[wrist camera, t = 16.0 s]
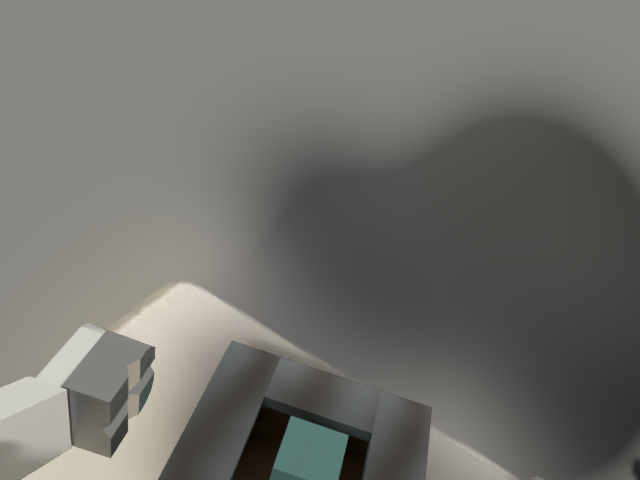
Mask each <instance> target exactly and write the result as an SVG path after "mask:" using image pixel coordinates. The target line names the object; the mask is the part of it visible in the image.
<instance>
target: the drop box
mask: <svg viewBox="0 0 640 480" xmlns="http://www.w3.org/2000/svg"><path fill="white" fill-rule="evenodd" d="M431 410H432V408H431V407H428V406H426V405H423V404H420V403H417V402H414V401H411V400H407V399H405V398H402V397H399V396H396V395H393V394H390V393H387V392H384V391H381V390H378V389H375V388H372V387H369V386H366V385H363V384H360V383H357V382H354V381H351V380H348V379H345V378H342V377H339V376H336V375H333V374H330V373H327V372H324V371H321V370H318V369H315V368H312V367H309V366H306V365H303V364H300V363H297V362H295V361H292V360H289V359H286V358H283V357H280V356H277V355H274V354H271V353H268V352H265V351H262V350H259V349H256V348H253V347H250V346H247V345H244V344H241V343H238V342H235V341H231V343H230V345H229V347H228V349H227V351H226V352H225V354H224V356H223V358H222V360H221V362H220V364H219V366H218V367H217V369H216V371H215V373H214V375H213V377H212V379H211V381H210V383H209V384H208V386H207V388H206V390H205V392H204V394H203V396H202V398H201V400H200V401H199V403H198V405H197V407H196V409H195V411H194V413H193V415H192V417H191V418H190V420H189V422H188V424H187V426H186V428H185V430H184V432H183V433H182V435H181V437H180V439H179V441H178V443H177V445H176V447H175V449H174V450H173V452H172V454H171V456H170V458H169V460H168V462H167V464H166V466H165V467H164V469H163V471H162V473H161V475H160V477H159V479H158V480H270V476H271V473H272V469H273V466H274V463H275V460H276V457H277V454H278V452H279V449H280V446H281V443H282V440H283V437H284V434H285V432H286V429H287V426H288V423H289V420H290V417H291V416H294V417H297V418H300V419H302V420H305V421H308V422H311V423H314V424H317V425H320V426H323V427H326V428H329V429H332V430H335V431H338V432H340V433H343V434H346V435H349V437H348V441H347V445H346V449H345V454H344V458H343V462H342V466H341V471H340V475H339V479H338V480H425V475H426V464H427V454H428V443H429V432H430V422H431Z"/></svg>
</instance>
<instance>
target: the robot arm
mask: <svg viewBox="0 0 640 480" xmlns="http://www.w3.org/2000/svg"><path fill="white" fill-rule="evenodd" d="M154 359H155V347H153V346H150V345H147V344H145V343H142V342H139V341H136V340H134V339H131V338H128V337H126V336H123V335H120V334H118V333H115V332H112V331H109V330H107V329H104V328H101V327H98V326H95V325H92V324H89V323H87V324H85V325H83V326H82V327H80V328H79V329H78V330H77V331H76V332H75V334H74V335H73V336H72V337H71V338H70V339H69V340H68V342H67V343H66V344H65V345H64V346H63V347H62V348H61V350H60V351H59V352H58V353H57V354H56V355H55V356H54V358H53V359H52V360H51V361H50V362H49V363H48V364H47V365H46V366H45V368H44V369H43V370H42V371H41V372H40V373H39V374H38V376H37V377H36V378H33V377H30V376H27V377H25V378H23V379H21V380H18V381H15V382H13V383H10V384H8V385H6V386H3V387H1V388H0V480H21V479H22V478H24V477H26V476H27V475H29V474H31V473H32V472H34V471H35V470H37V469H39V468H40V467H42V466H43V465H45V464H47V463H48V462H50V461H52V460H53V459H55V458H56V457H58V456H60V455H61V454H63V453H64V452H66V451H68V450H69V449H71V448H72V446H75V447H78V448H81V449H84V450H87V451H90V452H93V453H97V454H100V455H103V456H106V457H109V458H111V457H112V455H113V454H114V452H115V451H116V449H117V448H118V446H119V444H120V443H121V441H122V440H123V438H124V437H125V435H126V433H127V432H128V419H130V418H132V417H134V416H136V415H138V414H139V413H140V411H141V409H142V408H143V406H144V404H145V403H146V400H147V398H148V396H149V393H150V391H151V388H152V384H153V380H154V371H153V370H152V368H151V367H150V365H151V363H152V362H153V360H154ZM530 480H548V479H545V478H542V477H539V476H536V477H533V478H531V479H530Z"/></svg>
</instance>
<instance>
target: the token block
mask: <svg viewBox="0 0 640 480" xmlns="http://www.w3.org/2000/svg"><path fill="white" fill-rule="evenodd" d="M348 437H349V435H346V434H343V433H340V432H338V431H335V430H332V429H329V428H326V427H323V426H320V425H317V424H314V423H311V422H308V421H305V420H302V419H300V418H297V417H294V416H291V417H290V420H289V423H288V426H287V429H286V432H285V434H284V437H283V440H282V443H281V446H280V449H279V452H278V454H277V457H276V460H275V463H274V466H273V469H272V473H271V476H270V480H338V479H339V475H340V471H341V466H342V462H343V458H344V454H345V449H346V445H347V441H348Z"/></svg>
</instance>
